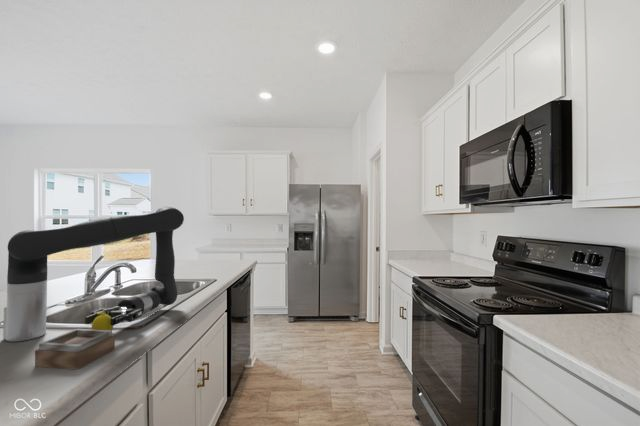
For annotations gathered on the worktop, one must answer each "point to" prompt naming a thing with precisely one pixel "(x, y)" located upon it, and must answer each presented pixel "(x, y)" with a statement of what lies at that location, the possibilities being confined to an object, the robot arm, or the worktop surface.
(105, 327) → the lemon
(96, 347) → the square wooden box
